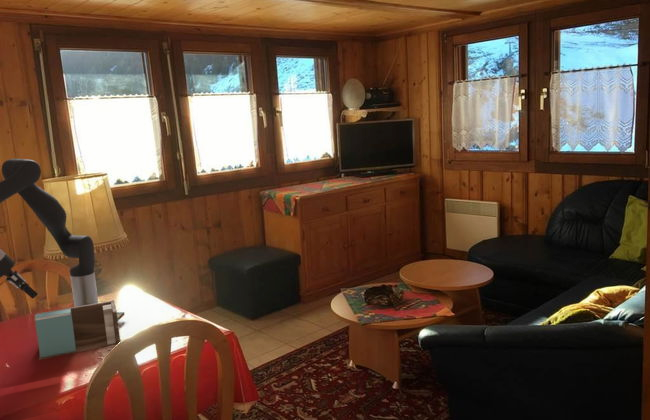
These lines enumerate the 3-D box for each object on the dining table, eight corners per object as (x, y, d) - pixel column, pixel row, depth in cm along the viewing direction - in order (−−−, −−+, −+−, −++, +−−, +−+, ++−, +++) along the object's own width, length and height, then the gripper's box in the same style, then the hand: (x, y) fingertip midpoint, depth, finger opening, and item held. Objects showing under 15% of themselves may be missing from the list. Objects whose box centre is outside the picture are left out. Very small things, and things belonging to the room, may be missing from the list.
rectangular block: (41, 353, 190) (35, 314, 188) (75, 346, 195) (70, 308, 192) (40, 357, 187) (34, 318, 184) (75, 350, 191) (70, 312, 189)
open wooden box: (41, 349, 197) (35, 310, 195) (118, 334, 208) (113, 297, 205) (39, 363, 186) (33, 323, 183) (120, 347, 196) (116, 308, 193)
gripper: (7, 254, 174) (46, 289, 181) (1, 250, 186) (38, 283, 193) (-13, 272, 171) (27, 306, 178) (-18, 267, 183) (20, 299, 189)
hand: (33, 294), depth 185 cm, fingers open, 8 cm apart
